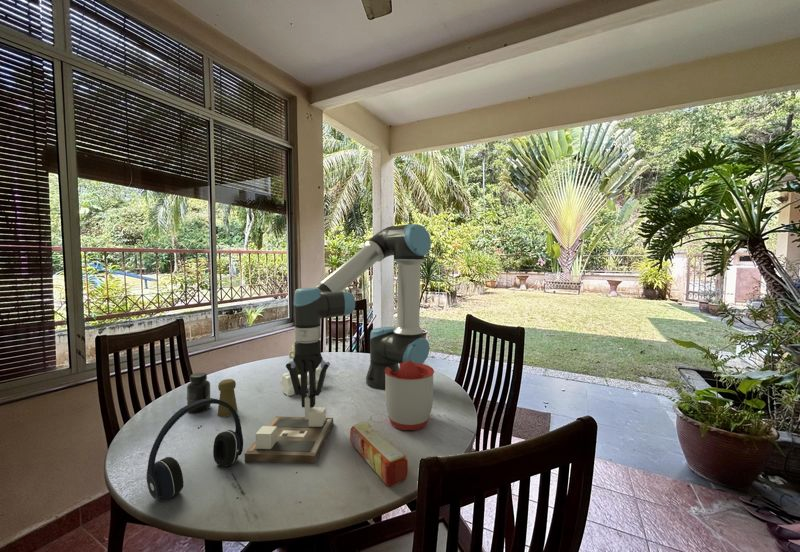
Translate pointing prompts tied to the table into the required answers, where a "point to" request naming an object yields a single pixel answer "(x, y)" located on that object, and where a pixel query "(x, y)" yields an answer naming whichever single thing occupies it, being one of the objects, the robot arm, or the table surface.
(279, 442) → the brown wooden tray
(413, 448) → the table surface
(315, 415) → the tab far
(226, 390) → the cork
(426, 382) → the citrus juicer
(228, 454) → the headphones
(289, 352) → the character mug
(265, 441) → the cream cube
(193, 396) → the supplement bottle
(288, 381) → the bone shaped toy
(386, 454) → the snack package
